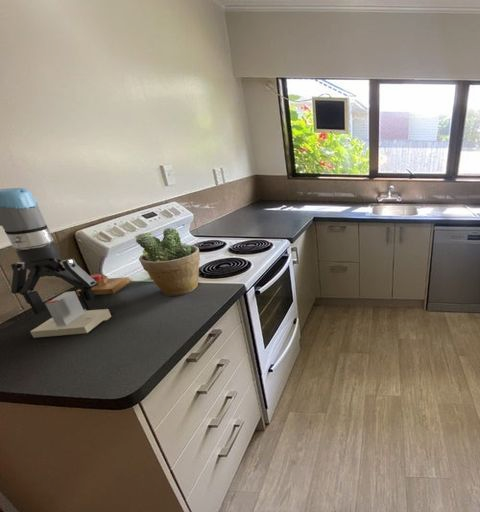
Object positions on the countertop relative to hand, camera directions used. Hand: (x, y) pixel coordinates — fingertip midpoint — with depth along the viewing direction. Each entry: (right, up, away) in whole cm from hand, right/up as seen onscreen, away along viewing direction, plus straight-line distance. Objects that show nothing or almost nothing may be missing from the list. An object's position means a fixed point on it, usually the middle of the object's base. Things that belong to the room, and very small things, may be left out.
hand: (66, 310), depth 88 cm
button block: (-13, +4, +26) cm, 29 cm away
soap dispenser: (+2, +7, +35) cm, 35 cm away
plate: (0, -6, +2) cm, 7 cm away
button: (-16, +7, +25) cm, 31 cm away
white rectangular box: (0, -3, +1) cm, 3 cm away
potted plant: (+17, +3, +26) cm, 31 cm away
